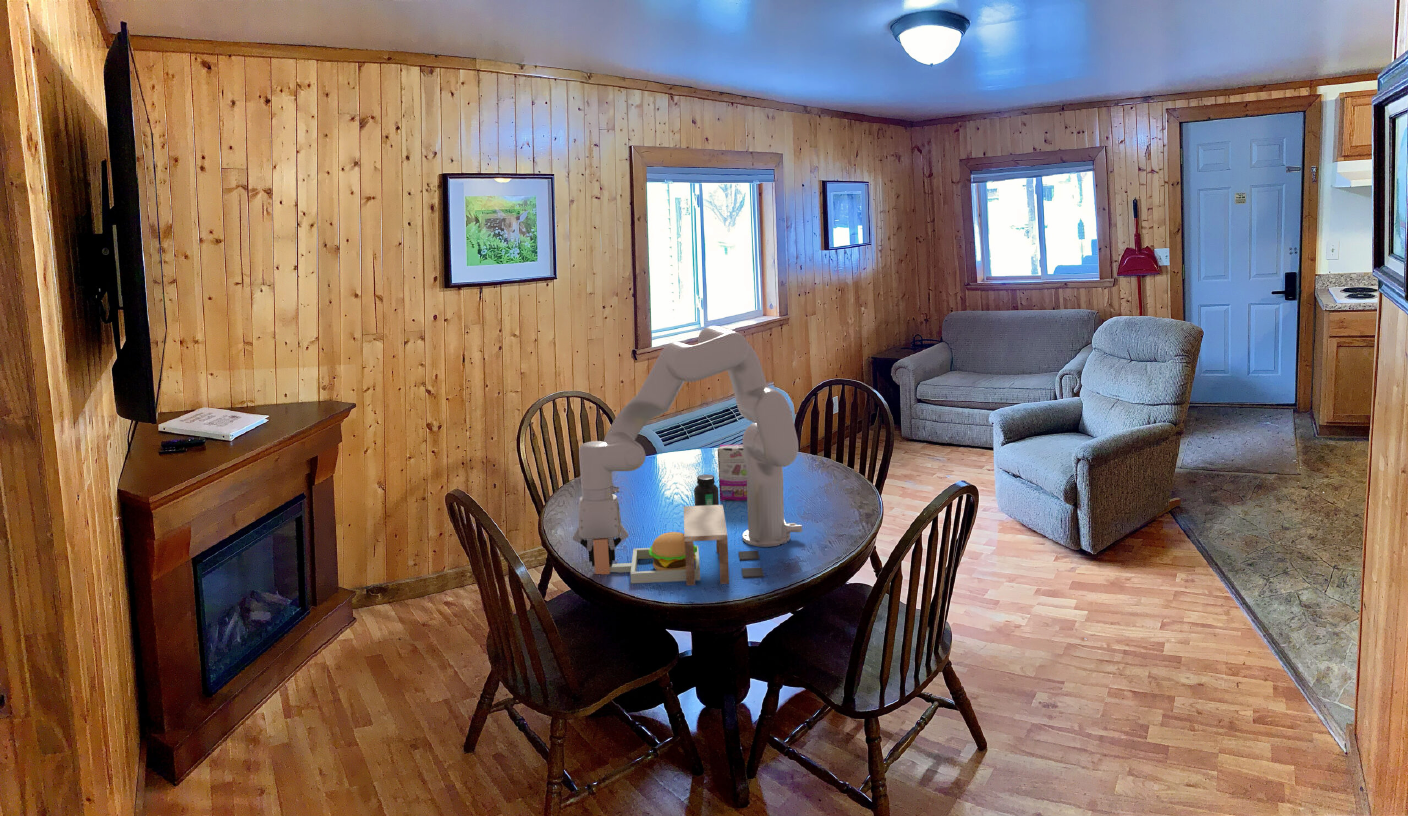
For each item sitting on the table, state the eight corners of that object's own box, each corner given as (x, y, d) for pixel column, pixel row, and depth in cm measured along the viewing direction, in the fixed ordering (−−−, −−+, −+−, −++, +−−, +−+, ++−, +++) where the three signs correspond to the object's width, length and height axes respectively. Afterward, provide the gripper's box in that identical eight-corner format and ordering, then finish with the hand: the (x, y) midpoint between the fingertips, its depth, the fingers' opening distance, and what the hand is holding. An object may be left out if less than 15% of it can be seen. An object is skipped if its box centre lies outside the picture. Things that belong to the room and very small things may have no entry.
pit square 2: (761, 568, 229) (761, 567, 229) (763, 577, 224) (763, 575, 224) (741, 569, 229) (741, 568, 229) (742, 578, 224) (742, 576, 224)
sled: (698, 554, 239) (697, 521, 237) (700, 580, 224) (698, 544, 222) (598, 559, 239) (596, 526, 237) (593, 585, 223) (590, 549, 221)
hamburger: (642, 563, 235) (640, 531, 233) (685, 554, 240) (684, 522, 238) (660, 580, 224) (659, 546, 222) (706, 570, 229) (704, 537, 227)
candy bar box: (758, 496, 283) (756, 443, 279) (756, 501, 278) (755, 448, 275) (721, 495, 285) (719, 443, 281) (719, 501, 280) (717, 448, 276)
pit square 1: (758, 552, 240) (758, 550, 240) (759, 559, 235) (759, 558, 235) (738, 552, 240) (738, 551, 240) (739, 560, 235) (739, 559, 235)
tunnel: (724, 549, 242) (722, 504, 239) (729, 583, 221) (727, 534, 219) (685, 551, 242) (683, 506, 239) (686, 585, 221) (684, 536, 218)
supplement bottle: (715, 522, 263) (713, 481, 260) (691, 520, 265) (690, 479, 262) (722, 514, 269) (720, 474, 266) (699, 512, 271) (698, 472, 268)
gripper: (632, 486, 230) (636, 556, 234) (564, 489, 230) (570, 559, 234) (631, 495, 223) (635, 568, 227) (561, 499, 223) (567, 571, 227)
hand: (602, 563), depth 231 cm, fingers closed on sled, 3 cm apart
